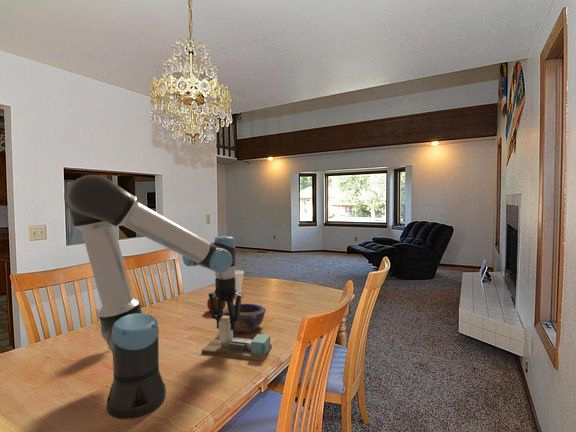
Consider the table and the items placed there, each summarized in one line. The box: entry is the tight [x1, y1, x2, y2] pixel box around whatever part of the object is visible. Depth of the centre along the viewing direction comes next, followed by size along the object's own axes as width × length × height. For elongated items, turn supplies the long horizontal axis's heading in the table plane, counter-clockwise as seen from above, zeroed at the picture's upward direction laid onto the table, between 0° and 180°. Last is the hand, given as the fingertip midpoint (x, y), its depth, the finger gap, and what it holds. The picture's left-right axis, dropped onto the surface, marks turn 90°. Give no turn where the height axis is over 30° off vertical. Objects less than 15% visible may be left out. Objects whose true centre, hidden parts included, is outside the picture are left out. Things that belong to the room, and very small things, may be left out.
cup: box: [234, 269, 245, 294], centre depth 199 cm, size 10×10×13 cm
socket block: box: [251, 333, 271, 355], centre depth 120 cm, size 7×5×4 cm
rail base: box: [201, 336, 273, 362], centre depth 122 cm, size 11×24×4 cm, turn 76°
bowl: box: [222, 303, 266, 334], centre depth 142 cm, size 18×18×10 cm
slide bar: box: [220, 315, 253, 350], centre depth 121 cm, size 3×17×11 cm, turn 76°
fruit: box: [206, 295, 227, 312], centre depth 166 cm, size 10×10×10 cm
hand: (226, 337), depth 123 cm, fingers closed on slide bar, 3 cm apart
